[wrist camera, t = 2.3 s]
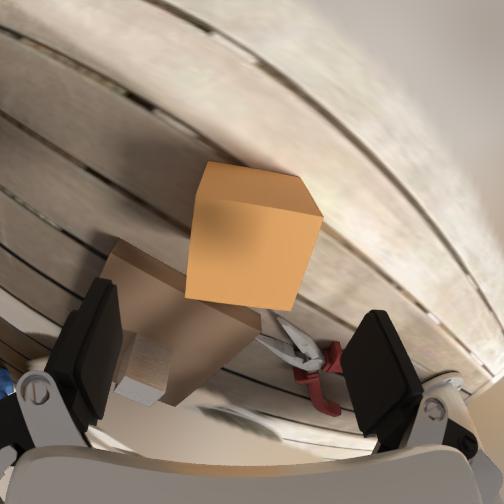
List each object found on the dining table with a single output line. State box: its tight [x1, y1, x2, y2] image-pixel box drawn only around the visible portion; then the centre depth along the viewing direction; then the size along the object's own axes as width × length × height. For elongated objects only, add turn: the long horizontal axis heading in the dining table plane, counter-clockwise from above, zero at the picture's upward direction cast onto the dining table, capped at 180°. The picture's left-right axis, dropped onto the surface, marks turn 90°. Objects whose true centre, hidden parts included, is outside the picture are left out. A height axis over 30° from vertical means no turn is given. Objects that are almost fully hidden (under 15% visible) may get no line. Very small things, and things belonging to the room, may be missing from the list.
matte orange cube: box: [185, 161, 324, 311], centre depth 18 cm, size 6×6×6 cm
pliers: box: [255, 315, 343, 417], centre depth 29 cm, size 12×20×3 cm, turn 44°
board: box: [99, 238, 262, 407], centre depth 24 cm, size 13×16×6 cm
